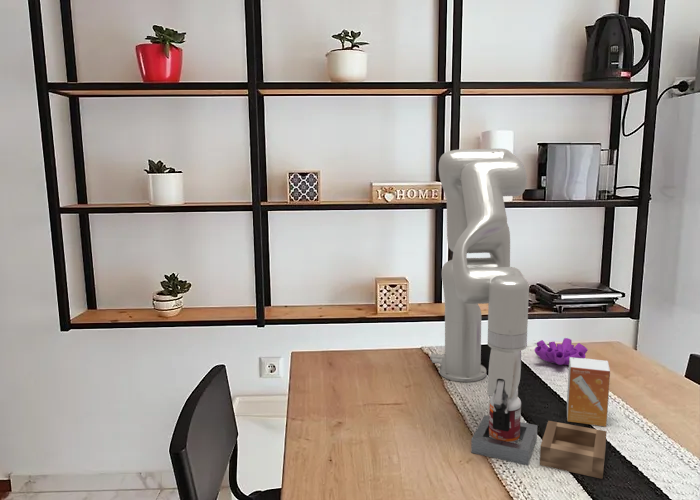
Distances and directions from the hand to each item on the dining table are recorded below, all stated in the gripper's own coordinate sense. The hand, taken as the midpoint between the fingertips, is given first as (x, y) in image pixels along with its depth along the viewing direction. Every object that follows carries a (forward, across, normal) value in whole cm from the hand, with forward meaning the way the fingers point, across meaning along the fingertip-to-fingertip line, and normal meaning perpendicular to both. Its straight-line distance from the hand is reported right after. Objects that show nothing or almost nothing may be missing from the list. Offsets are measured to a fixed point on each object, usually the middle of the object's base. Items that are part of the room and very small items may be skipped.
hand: (504, 420), depth 113 cm
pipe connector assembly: (+6, -50, +5) cm, 50 cm away
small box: (+6, -18, +14) cm, 24 cm away
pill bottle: (+4, 0, 0) cm, 4 cm away
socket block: (+5, 0, 0) cm, 5 cm away
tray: (+5, 0, +13) cm, 14 cm away
